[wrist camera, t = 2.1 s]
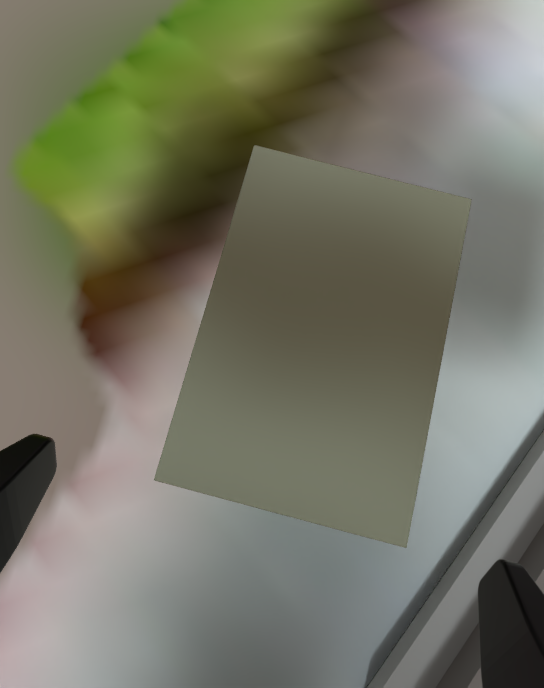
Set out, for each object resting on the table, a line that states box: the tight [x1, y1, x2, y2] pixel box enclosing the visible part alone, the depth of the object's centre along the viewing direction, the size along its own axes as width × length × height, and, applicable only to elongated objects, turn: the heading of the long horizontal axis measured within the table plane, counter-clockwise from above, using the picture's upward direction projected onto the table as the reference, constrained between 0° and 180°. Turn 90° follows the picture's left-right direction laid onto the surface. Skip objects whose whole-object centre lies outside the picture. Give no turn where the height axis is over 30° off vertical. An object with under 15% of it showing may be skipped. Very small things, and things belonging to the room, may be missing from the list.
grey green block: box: [154, 145, 472, 548], centre depth 14 cm, size 6×4×12 cm, turn 165°
